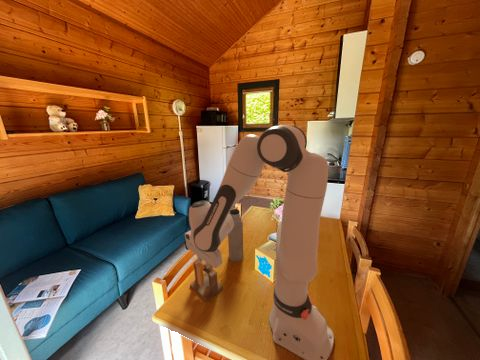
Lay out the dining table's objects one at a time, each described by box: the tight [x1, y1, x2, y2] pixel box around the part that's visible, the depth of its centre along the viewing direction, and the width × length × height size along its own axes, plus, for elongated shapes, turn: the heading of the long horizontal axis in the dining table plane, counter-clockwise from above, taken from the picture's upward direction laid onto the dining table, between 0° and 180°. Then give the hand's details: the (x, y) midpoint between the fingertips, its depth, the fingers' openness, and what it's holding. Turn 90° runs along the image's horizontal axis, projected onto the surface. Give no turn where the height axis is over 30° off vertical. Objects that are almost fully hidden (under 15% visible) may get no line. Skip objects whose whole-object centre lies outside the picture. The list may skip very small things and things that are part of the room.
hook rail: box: [189, 258, 224, 302], centre depth 89 cm, size 12×9×11 cm
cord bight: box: [196, 260, 214, 286], centre depth 88 cm, size 2×7×10 cm, turn 138°
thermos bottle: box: [227, 208, 244, 262], centre depth 106 cm, size 8×8×28 cm
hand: (204, 265), depth 87 cm, fingers closed on cord bight, 2 cm apart
